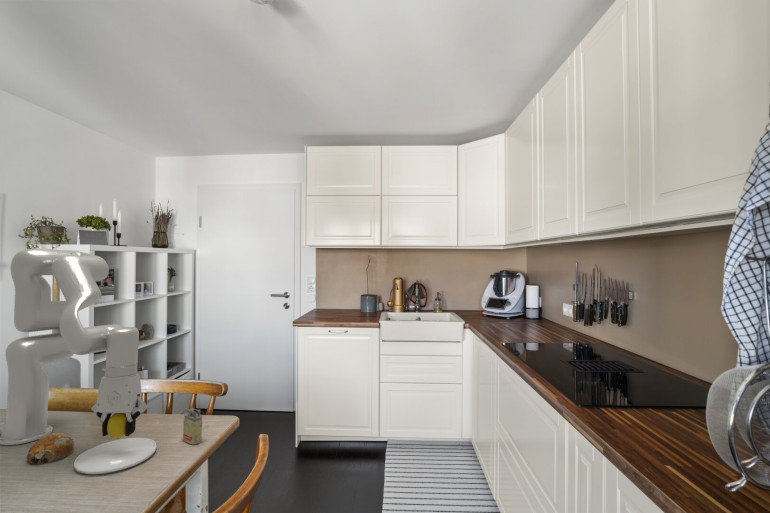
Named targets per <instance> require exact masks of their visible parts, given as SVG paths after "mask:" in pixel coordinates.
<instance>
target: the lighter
mask: <svg viewBox="0 0 770 513" xmlns="http://www.w3.org/2000/svg"><path fill="white" fill-rule="evenodd" d="M182 429H183V430H182V441H183V442H185V443H187V444H189V445H199V444H200V443H202V442H203V440H202V439H203V438H202V437H203V436H202V432H203V416H202V414H201V409H195V408H194V407H190V408H187V409H186V413H185V414H184V416H183V428H182Z"/></svg>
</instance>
